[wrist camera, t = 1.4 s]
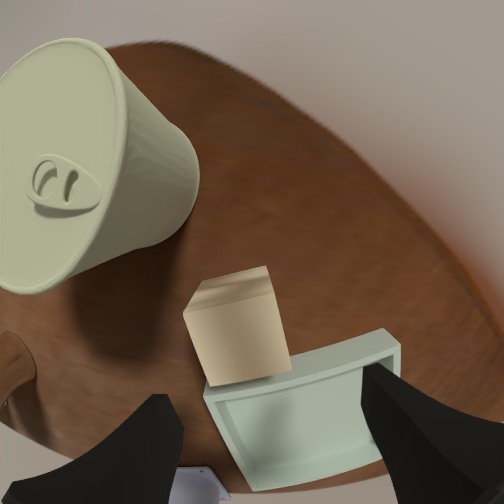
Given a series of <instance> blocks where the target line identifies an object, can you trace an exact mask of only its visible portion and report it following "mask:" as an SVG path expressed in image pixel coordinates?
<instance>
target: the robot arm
mask: <svg viewBox="0 0 504 504" xmlns="http://www.w3.org/2000/svg"><path fill="white" fill-rule="evenodd" d="M360 405H361V408H362V411H363V414H364V418H365V421H366V424H367V426H368V429H369V431H370V433H371V435H372V437H373V439H374V441H375V443H376V446H377V448H378V450H379V452H380V454H381V456H382V458H383V460H384V462H385V465H386V467H387V469H388V472H389V474H390V477H391V480H392V483H393V487H394V490H395V493H396V497H397V501H398V504H504V424H503V423H498V422H493V421H488V420H485V419H481V418H478V417H474V416H471V415H468V414H465V413H463V412H460V411H458V410H455V409H453V408H451V407H448V406H446V405H444V404H442V403H440V402H438V401H436V400H435V399H433V398H431V397H429V396H427V395H426V394H424V393H422V392H421V391H419V390H418V389H416V388H414V387H413V386H411V385H410V384H408V383H407V382H405V381H404V380H403V379H401V378H400V377H398V376H397V375H395V374H394V373H393V372H391V371H390V370H388V369H387V368H386V367H384V366H383V365H381V364H380V363H379V362H377V363H374V364H370V365H367V366H363V373H362V390H361V403H360ZM183 433H184V427H183V425H182V423H181V421H180V419H179V417H178V416H177V414H176V412H175V410H174V408H173V405H172V403H171V401H170V399H169V397H168V395H167V394H152V395H151V396H150V397H149V398H148V399H147V400H146V401H145V402H144V403H143V404H142V405H141V406H140V407H139V408H138V409H137V410H136V411H135V412H134V413H133V414H132V415H131V416H130V417H129V418H127V419H126V420H125V421H124V422H123V423H122V424H121V425H120V426H119V427H118V428H117V429H116V430H115V431H113V432H112V433H111V434H110V435H109V436H108V437H106V438H105V439H104V440H103V441H102V442H100V443H99V444H98V445H97V446H95V447H94V448H92V449H91V450H90V451H88V452H87V453H85V454H83V455H82V456H80V457H79V458H77V459H75V460H73V461H71V462H70V463H68V464H66V465H64V466H62V467H60V468H58V469H55V470H53V471H51V472H48V473H45V474H42V475H39V476H36V477H33V478H28V479H24V480H19V481H14V482H12V484H11V485H10V487H9V489H8V490H7V492H6V494H5V495H4V497H3V499H2V500H1V501H2V504H219V501H221V500H222V501H223V500H230V499H231V496H230V495H229V493H228V492H227V491H226V489H225V488H224V486H223V485H222V484H221V482H220V481H219V479H218V478H217V477H216V475H215V474H214V472H213V471H212V469H211V468H210V467H206V466H204V467H177V466H178V462H179V458H180V454H181V450H182V443H183Z"/></svg>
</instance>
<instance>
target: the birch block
mask: <svg viewBox="0 0 504 504" xmlns="http://www.w3.org/2000/svg"><path fill="white" fill-rule="evenodd" d="M183 317H184V319H185V322H186V325H187V328H188V331H189V333H190V336H191V339H192V342H193V344H194V347H195V350H196V352H197V355H198V358H199V360H200V363H201V365H202V368H203V370H204V373H205V375H206V378H207V380H208V382H209V385H210V387H212V386H219V385H225V384H231V383H236V382H242V381H247V380H252V379H257V378H262V377H266V376H271V375H275V374H280V373H284V372H288V371H292V366H291V362H290V357H289V353H288V349H287V344H286V340H285V336H284V332H283V327H282V323H281V319H280V315H279V311H278V306H277V302H276V298H275V294H274V290H273V287H272V284H271V281H270V277H269V274H268V271H267V268H266V266H261V267H257V268H253V269H249V270H245V271H241V272H237V273H233V274H229V275H225V276H221V277H217V278H212V279H208V280H204V281H202V282H201V284H200V285H199V287H198V289H197V290H196V292H195V294H194V295H193V297H192V299H191V300H190V302H189V304H188V305H187V307H186V309H185V310H184V312H183Z"/></svg>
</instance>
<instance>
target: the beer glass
mask: <svg viewBox="0 0 504 504" xmlns="http://www.w3.org/2000/svg"><path fill="white" fill-rule="evenodd" d="M35 376H36V368H35V363H34V360H33V358H32V356H31V354H30V352H29V350H28V348H27V347H26V345H25V344H24V343H23V341H22V340H21V339H20V338H19V337H18V336H17V335H15V334H14V333H12V332H10V331H4V332H3V333H2V334H1V335H0V411H1V409H2V407H3V406H4V404H5V403H6V401H7V400H8V398H9V397H10V395H11V394H12V393H13V392H14V391H15V390H16V389H17V388H19V387H20V386H22V385H24V384H26V383H28V382H30V381H32V380H33V379H34V378H35Z"/></svg>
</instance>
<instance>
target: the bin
mask: <svg viewBox="0 0 504 504" xmlns="http://www.w3.org/2000/svg"><path fill="white" fill-rule="evenodd" d="M290 362H291V366H292V371H288V372H284V373H280V374H275V375H271V376H266V377H262V378H257V379H252V380H247V381H242V382H236V383H231V384H225V385H219V386H212V387H210V385H209V382H208V380H207V381H206V385H205V390H204V394H203V398H204V400H205V402H206V404H207V407H208V409H209V411H210V413H211V415H212V417H213V419H214V421H215V423H216V425H217V427H218V429H219V431H220V433H221V435H222V437H223V439H224V441H225V443H226V445H227V447H228V449H229V451H230V452H231V454H232V456H233V458H234V460H235V462H236V463H237V465H238V467H239V469H240V470H241V472H242V474H243V476H244V477H245V479H246V481H247V482H248V484H249V486H250V487H251V489H252V491H261V490H268V489H275V488H281V487H286V486H291V485H296V484H301V483H306V482H310V481H314V480H318V479H322V478H326V477H329V476H333V475H336V474H340V473H343V472H346V471H349V470H352V469H355V468H358V467H361V466H364V465H367V464H369V463H372V462H375V461H377V460H380V459H382V456H381V454H380V452H379V450H378V448H377V446H376V443H375V441H374V439H373V437H372V435H371V433H370V431H369V429H368V426H367V424H366V421H365V418H364V414H363V411H362V408H361V405H360V403H361V390H362V373H363V366H367V365H370V364H374V363H377V362H379V363H380V364H381V365H383V366H384V367H386V368H387V369H388V370H390V371H391V372H393V373H394V374H395V375H397V376H398V377H400V362H401V344H400V343H399V342H398V341H397V340H396V339H395V338H394V337H393V336H391V335H390V334H389V333H388V332H387V331H386V330H385V329H384V328H381V329H378V330H375V331H372V332H370V333H367V334H364V335H361V336H358V337H355V338H352V339H349V340H346V341H342V342H339V343H336V344H333V345H329V346H326V347H323V348H319V349H316V350H312V351H309V352H305V353H301V354H297V355H293V356H290Z"/></svg>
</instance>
